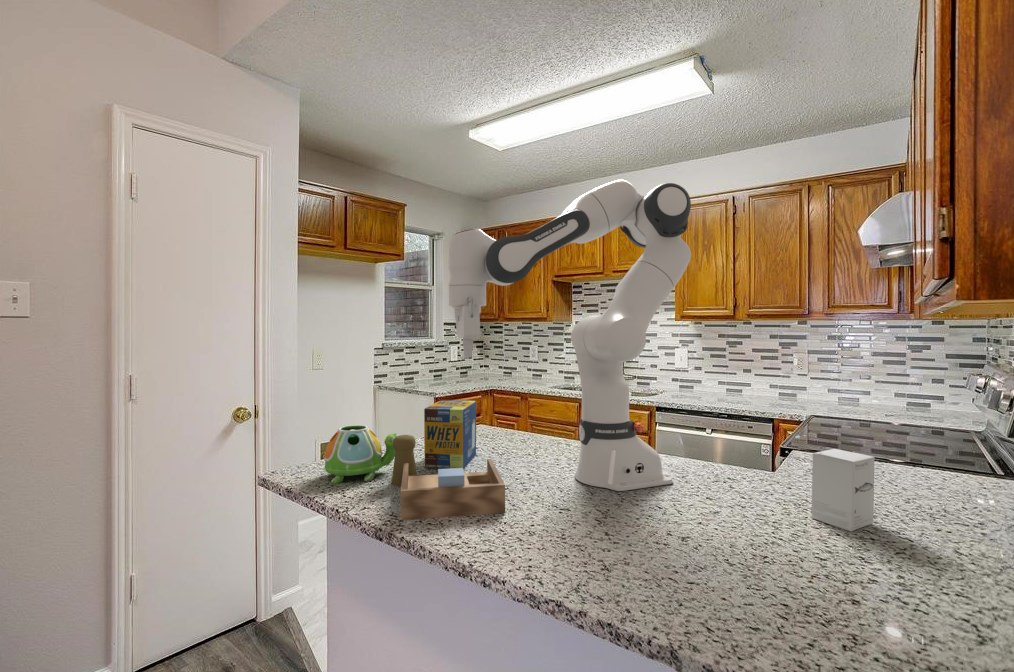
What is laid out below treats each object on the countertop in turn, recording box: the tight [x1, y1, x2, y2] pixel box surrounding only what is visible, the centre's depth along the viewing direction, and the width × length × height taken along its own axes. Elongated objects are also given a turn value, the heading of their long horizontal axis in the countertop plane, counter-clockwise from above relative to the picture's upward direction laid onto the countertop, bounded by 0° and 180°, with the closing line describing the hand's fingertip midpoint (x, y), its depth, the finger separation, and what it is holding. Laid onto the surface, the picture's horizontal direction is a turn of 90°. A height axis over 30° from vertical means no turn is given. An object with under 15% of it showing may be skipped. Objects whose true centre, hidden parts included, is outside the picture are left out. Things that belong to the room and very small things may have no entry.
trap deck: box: [400, 458, 506, 521], centre depth 104 cm, size 20×19×6 cm
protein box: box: [423, 399, 477, 470], centre depth 133 cm, size 10×15×16 cm
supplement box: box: [811, 448, 876, 532], centre depth 91 cm, size 7×7×13 cm
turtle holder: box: [323, 424, 399, 484], centre depth 121 cm, size 12×18×12 cm
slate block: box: [437, 468, 465, 487], centre depth 98 cm, size 5×5×5 cm
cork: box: [391, 434, 418, 488], centre depth 115 cm, size 6×6×11 cm
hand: (467, 357), depth 117 cm, fingers closed
